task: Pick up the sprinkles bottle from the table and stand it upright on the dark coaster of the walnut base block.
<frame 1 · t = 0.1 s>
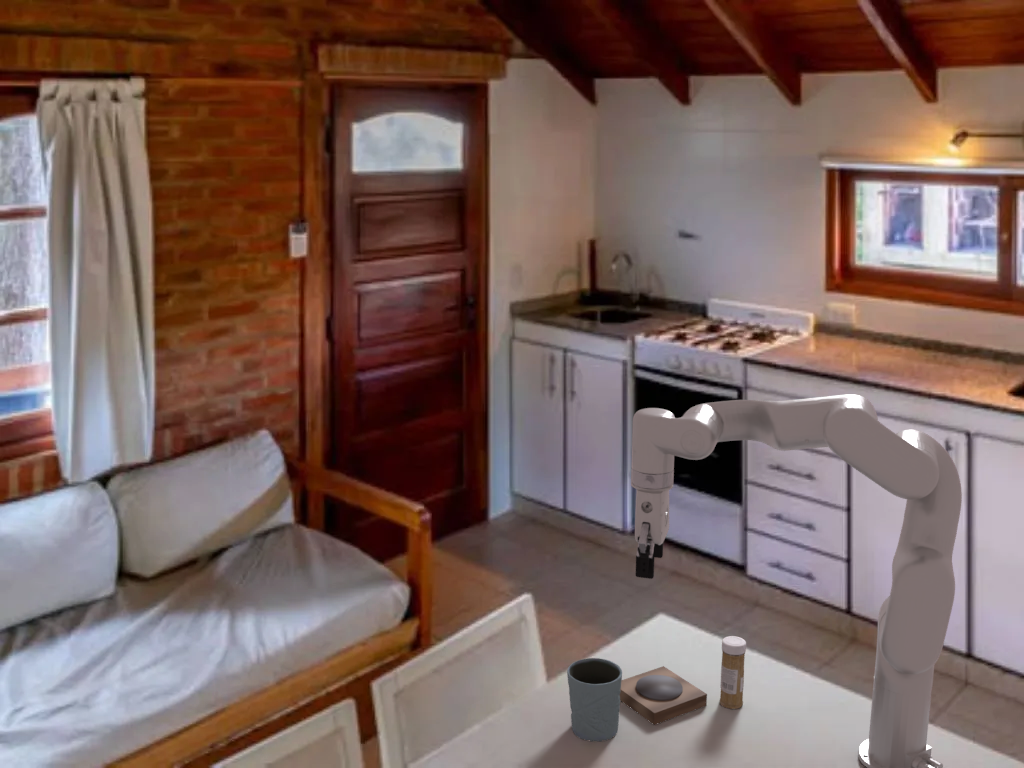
hand: (649, 566, 198), 31 cm above the table, tool pointing down, fingers open, 9 cm apart
sprinkles bottle: (730, 704, 211), on the table
walnut base: (658, 700, 212), on the table
blue-grey cup: (593, 729, 203), on the table
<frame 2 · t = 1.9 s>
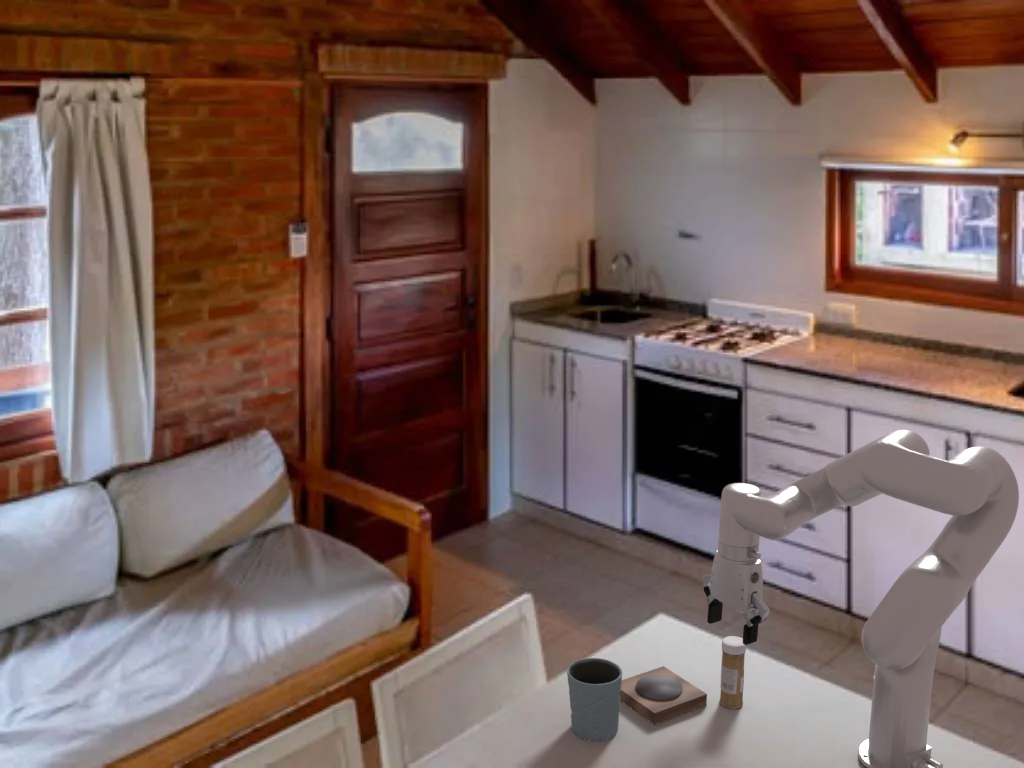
hand: (731, 632, 208), 15 cm above the table, tool pointing down, fingers open, 9 cm apart
nothing on the table moved.
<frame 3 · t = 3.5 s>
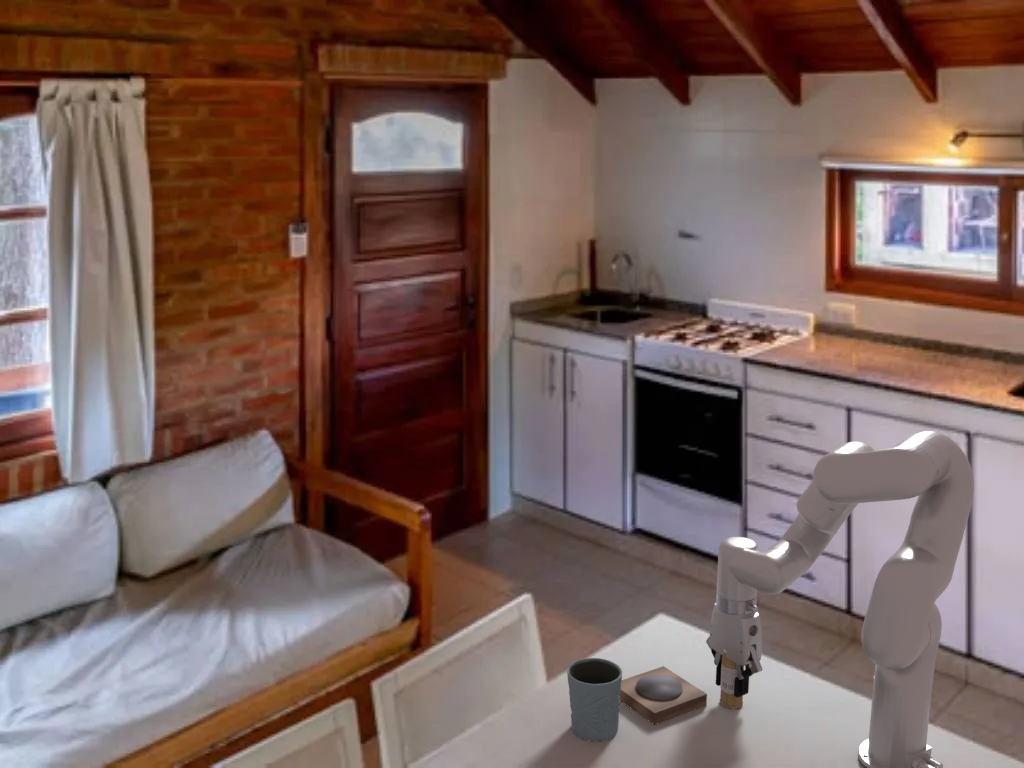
hand: (731, 688, 210), 3 cm above the table, tool pointing down, fingers closed on sprinkles bottle, 4 cm apart
sprinkles bottle: (730, 704, 211), on the table, touching gripper
everything else where it was.
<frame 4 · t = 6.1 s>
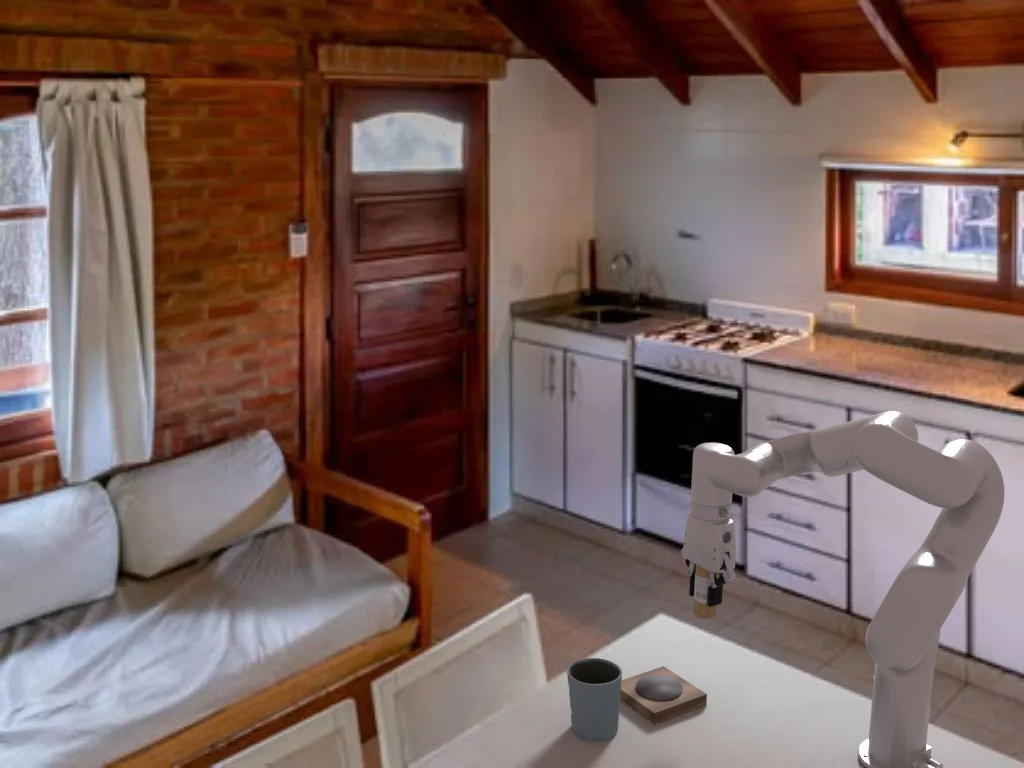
hand: (705, 598, 207), 22 cm above the table, tool pointing down, fingers closed on sprinkles bottle, 4 cm apart
sprinkles bottle: (704, 615, 207), point 18 cm above the table, touching gripper
everything else where it was.
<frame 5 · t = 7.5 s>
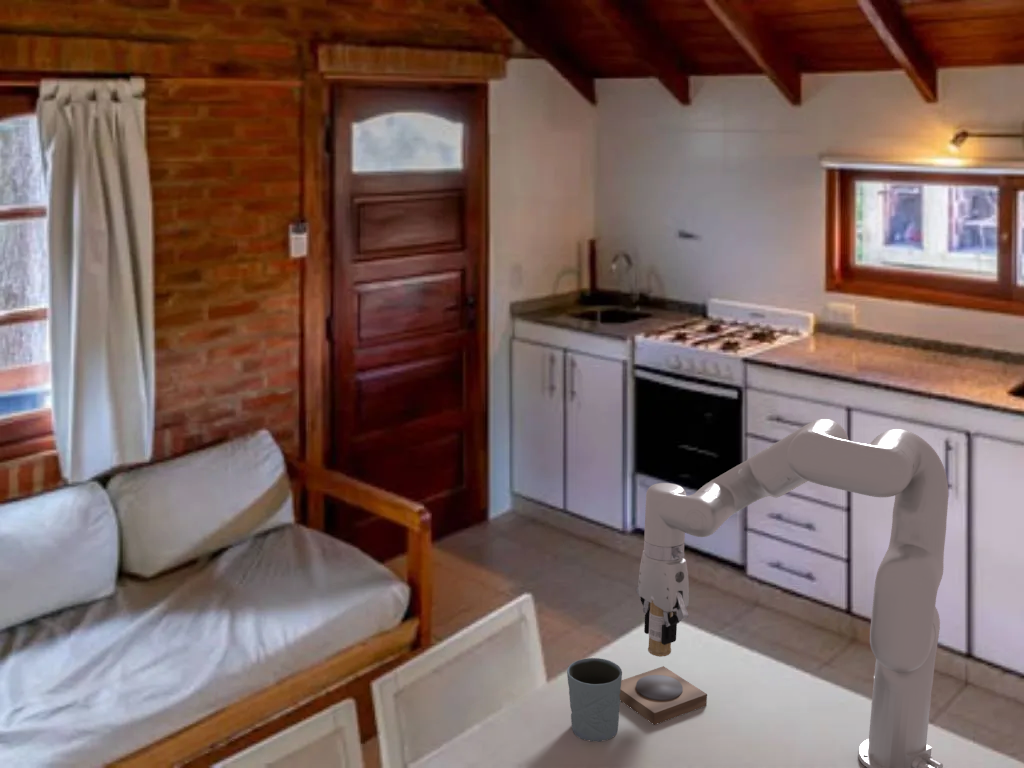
hand: (660, 636, 209), 14 cm above the table, tool pointing down, fingers closed on sprinkles bottle, 4 cm apart
sprinkles bottle: (659, 652, 210), point 10 cm above the table, touching gripper
everything else where it was.
when the fingers open (8 cm above the table, at t = 8.8 s): sprinkles bottle drops 1 cm, resting on walnut base.
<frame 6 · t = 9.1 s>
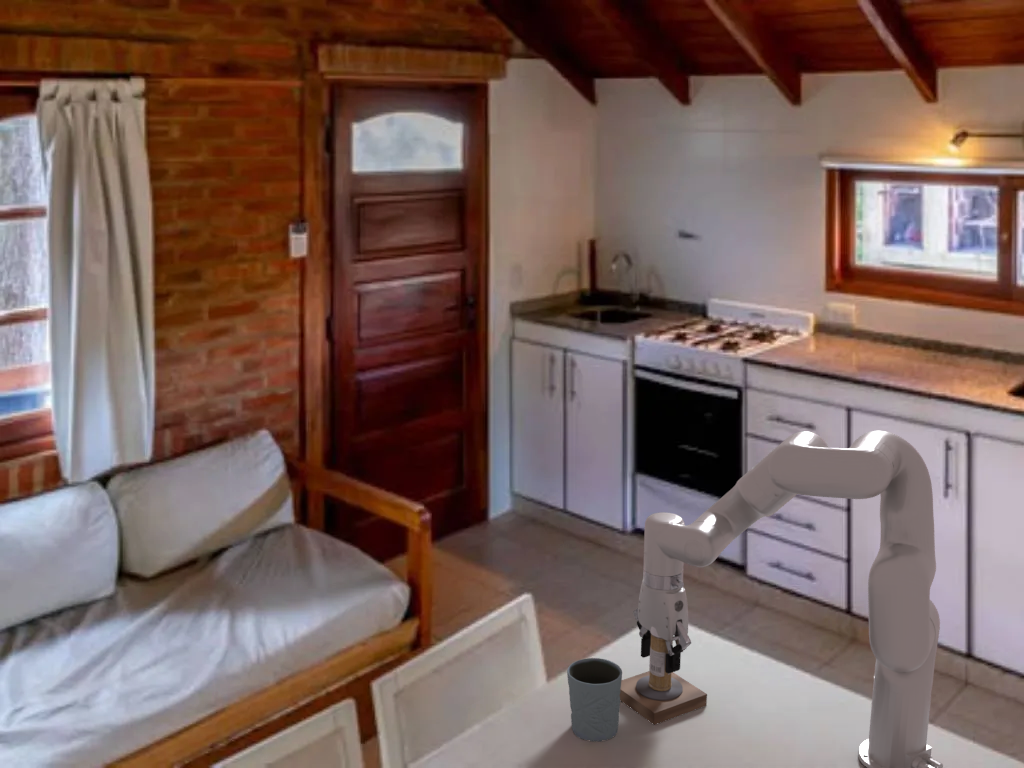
hand: (660, 662, 210), 8 cm above the table, tool pointing down, fingers open, 6 cm apart
sprinkles bottle: (659, 686, 212), point 3 cm above the table, touching walnut base
everything else where it was.
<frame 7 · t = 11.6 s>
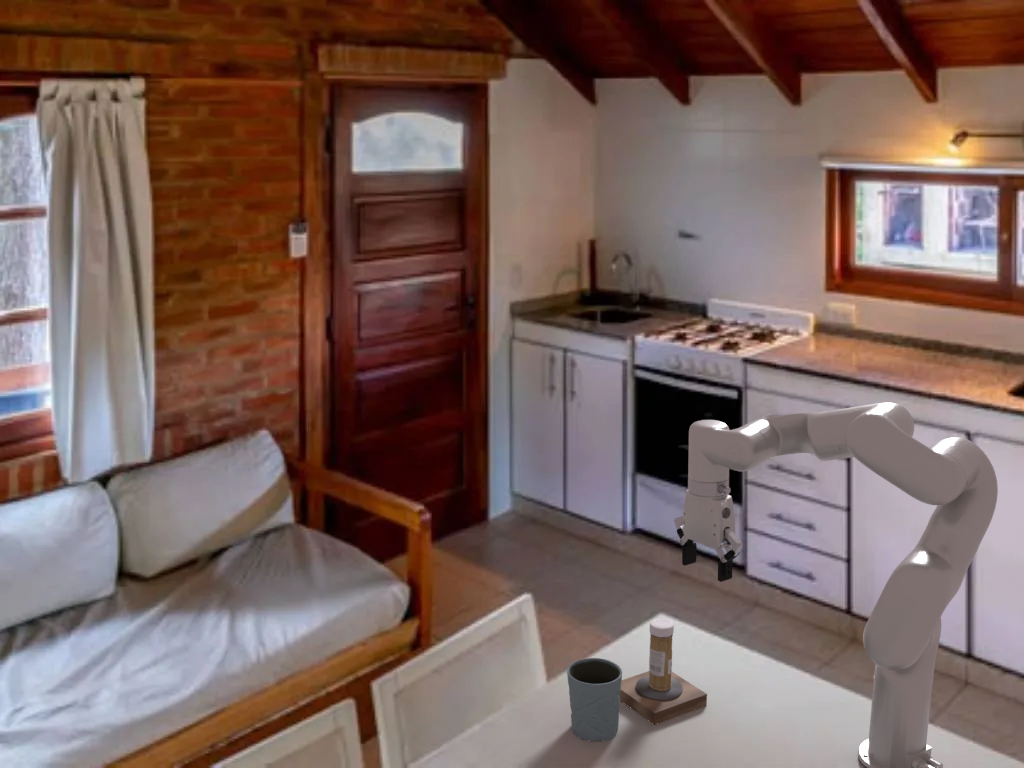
hand: (706, 571, 207), 26 cm above the table, tool pointing down, fingers open, 9 cm apart
nothing on the table moved.
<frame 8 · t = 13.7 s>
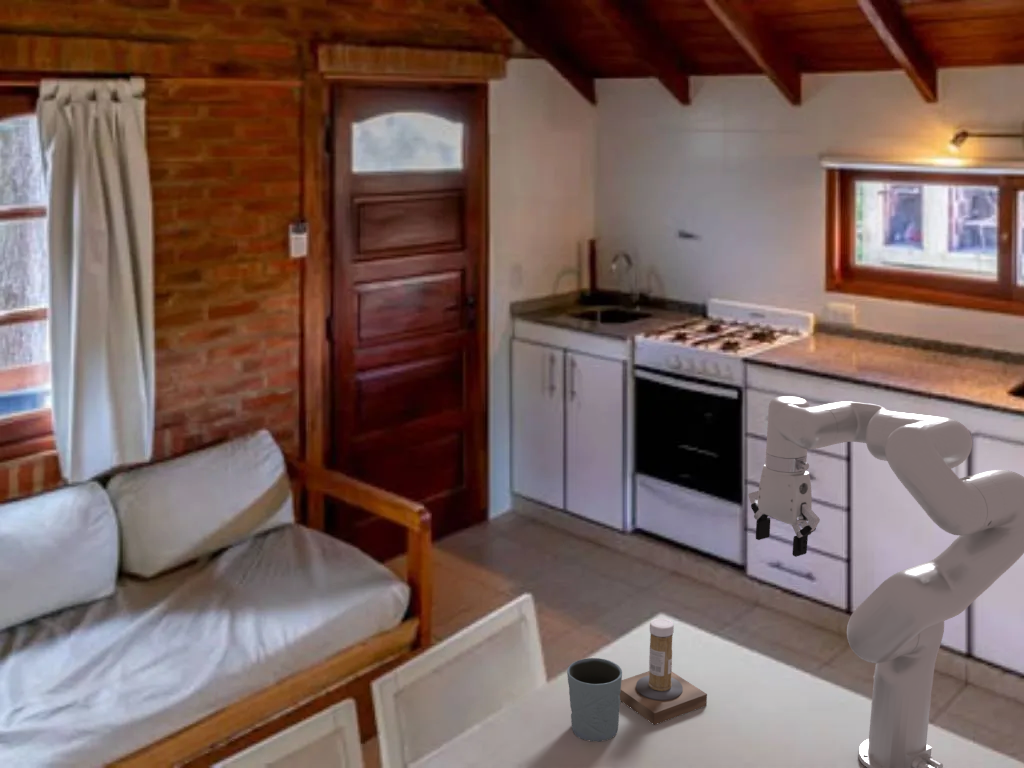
hand: (780, 546, 209), 30 cm above the table, tool pointing down, fingers open, 9 cm apart
nothing on the table moved.
at the end: sprinkles bottle inside the target area on the walnut base (0.1 cm from its centre), point 2.8 cm above the walnut base's base; sprinkles bottle tilted 0°; the gripper is holding nothing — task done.
